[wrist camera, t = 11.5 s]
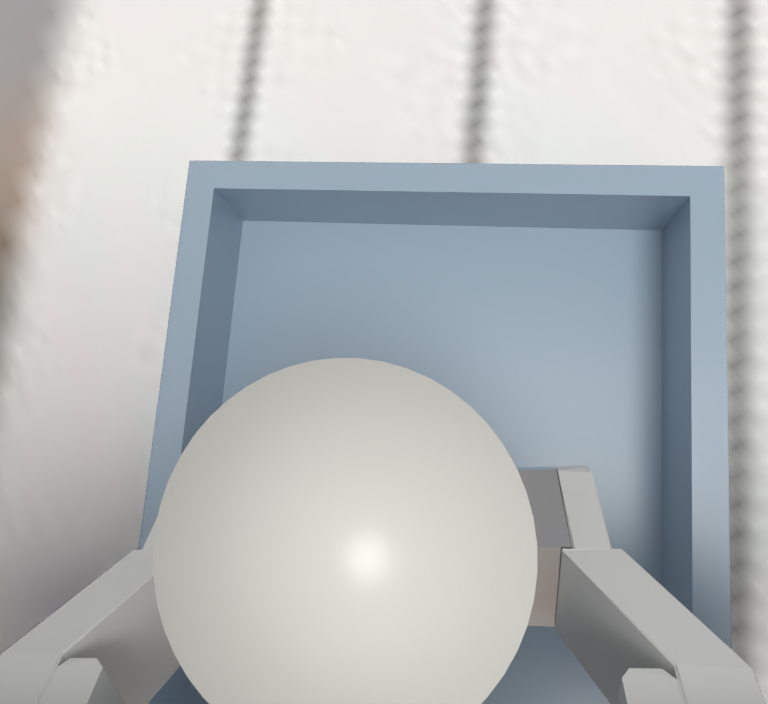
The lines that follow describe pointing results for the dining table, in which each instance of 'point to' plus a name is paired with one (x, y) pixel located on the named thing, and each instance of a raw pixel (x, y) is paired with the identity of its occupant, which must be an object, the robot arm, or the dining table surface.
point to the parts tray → (484, 337)
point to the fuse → (345, 543)
